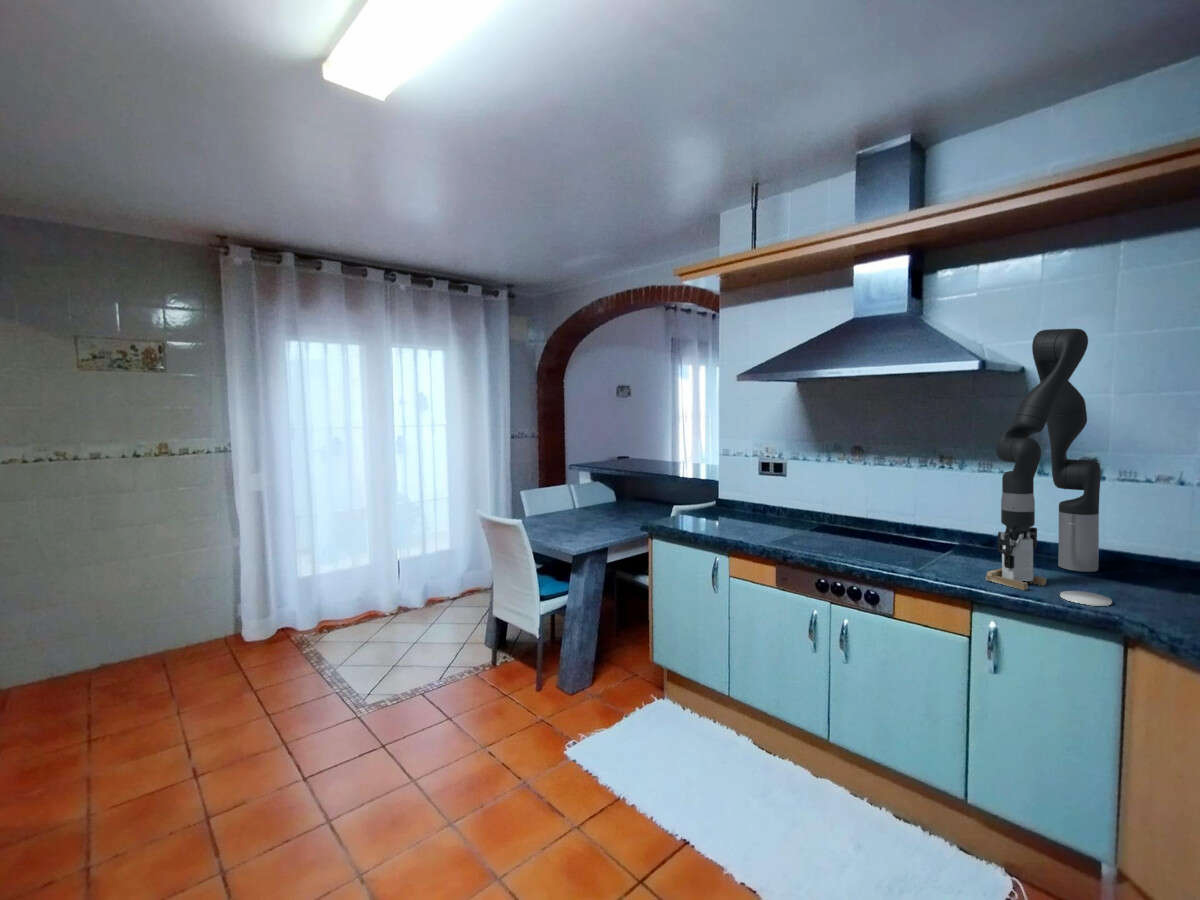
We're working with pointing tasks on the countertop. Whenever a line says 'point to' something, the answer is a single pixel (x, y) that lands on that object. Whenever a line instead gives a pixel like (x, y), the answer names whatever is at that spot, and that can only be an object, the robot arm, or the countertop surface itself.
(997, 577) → the rack
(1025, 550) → the skincare box
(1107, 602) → the coaster
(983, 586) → the countertop surface
